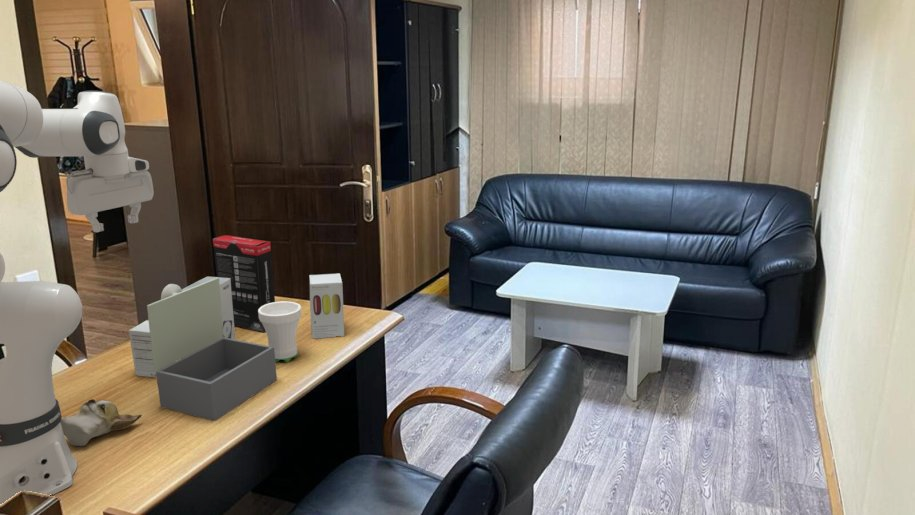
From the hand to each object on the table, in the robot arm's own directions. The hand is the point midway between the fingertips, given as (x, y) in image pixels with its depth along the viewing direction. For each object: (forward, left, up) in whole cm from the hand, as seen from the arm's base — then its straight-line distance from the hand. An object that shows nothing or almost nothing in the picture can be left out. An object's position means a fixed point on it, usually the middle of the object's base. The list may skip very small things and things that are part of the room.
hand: (116, 227), depth 153 cm
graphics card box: (+45, +4, -41) cm, 61 cm away
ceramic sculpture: (-18, -8, -41) cm, 46 cm away
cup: (+30, -20, -41) cm, 55 cm away
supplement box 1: (+10, +5, -41) cm, 43 cm away
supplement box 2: (+50, -21, -41) cm, 68 cm away
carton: (+7, -19, -41) cm, 46 cm away
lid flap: (+7, -11, -24) cm, 27 cm away
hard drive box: (+24, 0, -41) cm, 48 cm away
